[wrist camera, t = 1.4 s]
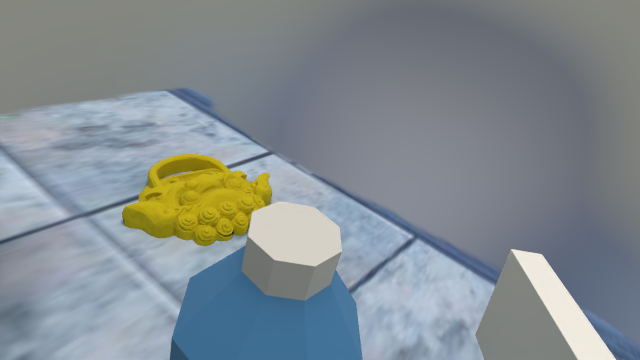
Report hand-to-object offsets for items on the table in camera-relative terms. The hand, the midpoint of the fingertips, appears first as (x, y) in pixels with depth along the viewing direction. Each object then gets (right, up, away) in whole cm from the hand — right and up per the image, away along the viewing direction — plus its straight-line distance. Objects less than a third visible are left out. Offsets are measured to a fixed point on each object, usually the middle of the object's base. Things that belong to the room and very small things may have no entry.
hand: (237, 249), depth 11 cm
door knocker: (-14, -2, +49) cm, 50 cm away
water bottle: (-5, -21, +21) cm, 30 cm away
